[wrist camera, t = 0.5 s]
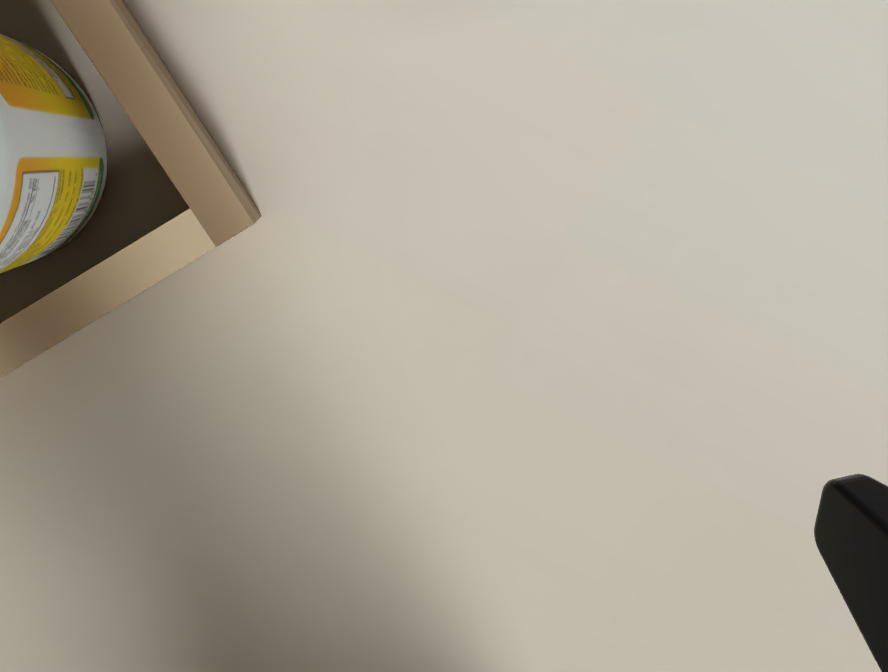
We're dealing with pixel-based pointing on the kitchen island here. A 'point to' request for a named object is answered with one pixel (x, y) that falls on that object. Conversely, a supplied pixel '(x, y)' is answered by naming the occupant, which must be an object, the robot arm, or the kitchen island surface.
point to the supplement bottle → (44, 156)
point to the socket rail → (182, 157)
